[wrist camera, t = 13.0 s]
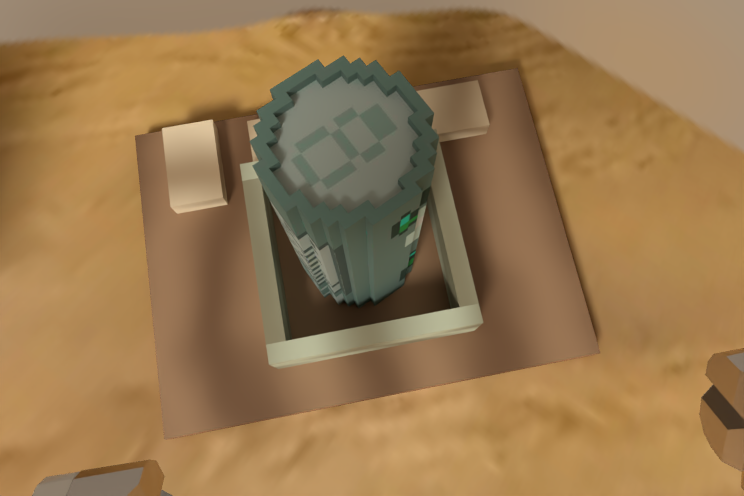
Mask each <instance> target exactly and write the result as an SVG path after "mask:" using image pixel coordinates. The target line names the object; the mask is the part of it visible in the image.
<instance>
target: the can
mask: <svg viewBox="0 0 744 496" xmlns="http://www.w3.org/2000/svg"><path fill="white" fill-rule="evenodd" d="M270 92H271V95H272V98H273V101H271V102H269V103H268V104H266V105H265V106H263V107H262V108H260V109H258V110H257V113H258V116H259V118H260V122H258V123H256V124H255V125H253V127H254V129H255V132H256V134H257V136H256V137H255V138H253V139H252V140H250V144H251V146H252V148H253V150H254V152H255V154H256V156H257V159H258V161H259V162H257V163H256V164H254V165H252V166H253V168H254V170H255V172H256V174H257V176H258V178H259V180H260V182H261V184H262V186H263V188H264V190H265V192H266V194H267V196H268V198H269V200H270V202H271V204H272V206H273V208H274V210H275V212H276V214H277V216H278V218H279V220H280V222H281V224H282V226H283V228H284V230H285V232H286V234H287V236H288V238H289V240H290V242H291V244H292V246H293V248H294V250H295V252H296V254H297V256H298V258H299V260H300V262H301V264H302V266H303V268H304V270H305V271H306V272H307V274H308V275H309V277H310V278H311V280H312V281H313V282H314V284H315V285H316V287H317V288H318V289H319V291H320V292H321V294H322V295H323V296H324V298H325V297H327V296H328V295H330V294H331V295H332V297H333V298H334V299H335V301H336V302H337V304H338V305H340V304H341V303H343V302H344V301H345V302H346V304H347V305H348V307H349V306H351V305H352V304H354V303H355V304H356V305H357V307H358V308H360V307H362V306H363V305H365V304H366V303H367V302H369V301H370V300H371V301H372V303H373V304H374V306H375V305H377V304H378V303H380V302H381V301H382V300H384V299H385V298H387V297H388V296H389V295H391V294H392V293H394V292H395V291H396V290H398V289H399V288H401V287H402V286H403V285H404V282H405V277H406V275H407V274H408V273H409V272H411V269H412V265H413V261H414V256H415V252H416V248H417V243H418V239H419V235H420V230H421V226H422V222H423V217H424V213H425V209H426V204H427V200H428V196H429V191H430V187H431V183H432V178H433V174H434V170H435V168H434V164H435V160H436V155H437V152H436V150H437V145H438V141H439V136H438V135H437V134H436V132H435V131H434V130H433V129H432V123H433V117H434V112H433V111H432V110H431V108H430V107H429V106H428V105H427V104H426V102H425V101H424V100H423V99H422V98H421V96H420V95H419V94H418V93H417V92H416V90H415V89H414V88H413V87H412V85H411V84H410V83H409V82H408V81H407V79H406V78H405V77H404V76H403V75H402V73H401V72H400V71H397V72H396V73H394V74H393V75H391V76H389V75H388V74H387V73H386V72H385V70H384V69H383V68H382V67H381V65H380V64H379V63H378V62H377V61H376V60H375V61H373V62H372V63H370V64H369V65H367V66H366V65H365V63H364V62H363V61H362V60H361V59H360V58H358V59H357V60H355V61H354V62H352V63H351V64H350V63H349V61H348V60H347V59H346V58H345V56H342V57H340V58H339V59H337V60H336V61H334V62H332V63H331V64H329V65H328V66H326V67H324V66H323V65H322V63H321V62H320V61H319V60H316V61H314V62H313V63H311V64H310V65H308V66H307V67H305V68H303V69H302V70H300V71H299V72H297V73H295V74H294V75H292V76H291V77H289V78H287V79H286V80H284V81H283V82H281V83H280V84H278V85H276V86H275V87H273V88H272V89H270Z"/></svg>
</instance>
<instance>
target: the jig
mask: <svg viewBox="0 0 744 496" xmlns="http://www.w3.org/2000/svg"><path fill="white" fill-rule="evenodd" d="M476 80H478V83H479V87H480V90H481V94H482V98H483V102H484V105H485V109H486V113H487V116H488V120H489V124H490V125H489V128H488V130H487V133H486V134H482V135H477V136H471V137H466V138H460V139H455V140H449V141H444V142H439V141H438V145H437V150H436V152H437V155H436V160H435V164H434V168H435V170H434V174H433V178H432V183H431V187H430V191H429V196H428V200H427V204H426V209H425V213H424V217H423V222H422V226H421V230H420V235H419V239H418V243H417V248H416V252H415V256H414V261H413V265H412V269H411V272H409V273H408V274H407V275H406V277H405V282H404V285H403V286H402V287H401V288H399V289H398V290H396V291H395V292H394V293H392V294H391V295H389V296H388V297H387V298H385V299H384V300H382V301H381V302H380V303H378V304H377V305H375V306H374V304H373V303H372V301H371V300H370V301H369V302H367V303H366V304H365V305H363V306H362V307H360V308H358V307H357V305H356V304H355V303H354V304H352V305H351V306H349V307H348V305H347V304H346V302H345V301H344V302H343V303H341V304H340V305H338V304H337V302H336V301H335V299H334V298H333V297H332V295H331V294H330V295H328V296H327V297H325V298H324V296H323V295H322V294H321V292H320V291H319V289H318V288H317V287H316V285H315V284H314V282H313V281H312V280H311V278H310V277H309V275H308V274H307V272H306V271H305V270H304V268H303V266H302V264H301V262H300V260H299V258H298V256H297V254H296V252H295V250H294V248H293V246H292V244H291V242H290V240H289V238H288V236H287V234H286V232H285V230H284V228H283V226H282V224H281V222H280V220H279V218H278V216H277V214H276V212H275V210H274V208H273V206H272V204H271V202H270V200H269V198H268V196H267V194H266V192H265V190H264V188H263V186H262V184H261V182H260V180H259V178H258V176H257V174H256V172H255V170H254V168H253V166H252V165H254V164H256V163H257V162H259V161H255V162H253V157H252V151H251V144H250V137H249V131H248V124H247V121H250V120H256V119H260V118H259V116H258V114H255V115H250V116H244V117H238V118H233V119H227V120H221V121H216V122H214V123H215V125H216V127H217V129H218V136H219V143H220V150H221V158H222V165H223V172H224V180H225V187H226V194H227V202H228V205H223V206H217V207H212V208H206V209H201V210H195V211H190V212H184V213H179V214H177V213H176V212H175V211H174V210H173V209H172V208H171V207H170V198H169V189H168V179H167V170H166V161H165V152H164V143H163V134H162V131H159V132H154V133H148V134H142V135H137V136H135V140H136V151H137V161H138V171H139V182H140V192H141V202H142V213H143V223H144V233H145V244H146V254H147V264H148V275H149V285H150V295H151V306H152V316H153V326H154V337H155V347H156V357H157V368H158V378H159V388H160V399H161V409H162V420H163V430H164V440H165V439H173V438H178V437H183V436H188V435H193V434H198V433H203V432H208V431H213V430H218V429H223V428H229V427H234V426H239V425H244V424H249V423H254V422H259V421H264V420H269V419H274V418H279V417H284V416H289V415H294V414H299V413H304V412H309V411H314V410H319V409H324V408H329V407H334V406H339V405H344V404H349V403H354V402H359V401H364V400H369V399H374V398H379V397H384V396H389V395H394V394H399V393H404V392H410V391H415V390H420V389H425V388H430V387H435V386H440V385H445V384H450V383H455V382H460V381H465V380H470V379H475V378H480V377H485V376H490V375H495V374H500V373H505V372H510V371H515V370H520V369H525V368H530V367H535V366H540V365H545V364H550V363H555V362H560V361H565V360H570V359H575V358H580V357H585V356H590V355H595V354H598V353H600V350H599V346H598V343H597V340H596V336H595V333H594V329H593V326H592V322H591V319H590V315H589V312H588V309H587V305H586V302H585V298H584V295H583V291H582V288H581V285H580V281H579V278H578V274H577V271H576V267H575V264H574V260H573V257H572V254H571V250H570V247H569V243H568V240H567V236H566V233H565V230H564V226H563V223H562V219H561V216H560V212H559V209H558V205H557V202H556V199H555V195H554V192H553V188H552V185H551V181H550V178H549V175H548V171H547V168H546V164H545V161H544V157H543V154H542V150H541V147H540V144H539V140H538V137H537V133H536V130H535V126H534V123H533V119H532V116H531V113H530V109H529V106H528V102H527V99H526V95H525V92H524V89H523V85H522V82H521V78H520V75H519V71H518V68H516V69H510V70H504V71H499V72H493V73H487V74H482V75H476V76H470V77H465V78H459V79H453V80H448V81H442V82H436V83H431V84H425V85H419V86H414V87H413V88H414V89H415V90H416V91H419V90H425V89H431V88H436V87H442V86H447V85H453V84H459V83H464V82H470V81H476ZM433 130H434V131H435V132H436V134H437V130H436V129H433ZM437 135H438V134H437Z"/></svg>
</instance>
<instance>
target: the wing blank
mask: <svg viewBox="0 0 744 496" xmlns="http://www.w3.org/2000/svg"><path fill="white" fill-rule="evenodd" d="M416 92H417V93H418V94H419V95H420V96H421V98H422V99H423V100H424V101H425V102H426V104H427V105H428V106H429V107H430V108H431V110H432V111H433V112H434V117H433V123H432V129H436V130H437V134H438V136H439V142H444V141H449V140H455V139H460V138H466V137H471V136H477V135H482V134H486V133H487V130H488V128H489V125H490V124H489V120H488V116H487V113H486V109H485V105H484V102H483V98H482V94H481V90H480V87H479V83H478V80H476V81H470V82H464V83H459V84H453V85H447V86H442V87H436V88H431V89H425V90H419V91H416ZM258 122H260V119H256V120H250V121H247V124H248V131H249V137H250V140H252V139H253V138H255V137H256V136H257V134H256V132H255V129H254V127H253V125H255V124H256V123H258ZM251 151H252V157H253V162H255V161H258V159H257V156H256V154H255V152H254V150H253V148H252V146H251Z"/></svg>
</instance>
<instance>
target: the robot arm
mask: <svg viewBox="0 0 744 496" xmlns="http://www.w3.org/2000/svg"><path fill="white" fill-rule="evenodd" d="M705 375H706V376H707V377H708V379H709V380H710V381H711V382H712V383H713V385H712V386H711V387H710V389H709V390H708V391H707V392H706V393H705V394H704V395H703V396H702V397H701V405H700V414H699V415H700V419H701V423H702V428H703V432H704V434H705V436H706V438H707V440H708V442H709V444H710V446H711V448H712V449H713V450H714V452H715V453H716V454H717V456H718V457H719V459H720V460H721V461H722V462H724V463H726V464H728V465H730V466H732V467H734V468H736V469H737V470H739V471H741V472H742V476H741V487H742V489H743V490H744V348H741V349H736V350H731V351H726V352H721V353H716V354H713V356H712V357H711V358H710V359H709V361H708V364H707V369H706V374H705ZM163 480H164V474H163V472H162V470H161V468H160V467H159V465H158V463H157V461H156V460H144V461H138V462H132V463H126V464H119V465H113V466H107V467H101V468H94V469H88V470H82V471H80V472H74V473H68V474H61V475H55V476H49V477H46V478H45V479H43V480H42V481H41V482H40V483H39V484H38V485H37V487H36V488H35V490H34V492H33V495H32V496H172V495H170V494H168V493H167V492H165V491H163V490H161V489H162V485H163Z"/></svg>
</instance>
